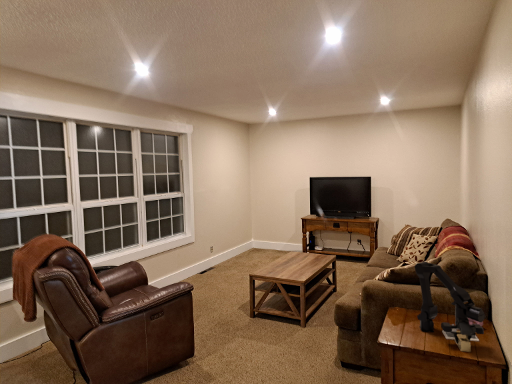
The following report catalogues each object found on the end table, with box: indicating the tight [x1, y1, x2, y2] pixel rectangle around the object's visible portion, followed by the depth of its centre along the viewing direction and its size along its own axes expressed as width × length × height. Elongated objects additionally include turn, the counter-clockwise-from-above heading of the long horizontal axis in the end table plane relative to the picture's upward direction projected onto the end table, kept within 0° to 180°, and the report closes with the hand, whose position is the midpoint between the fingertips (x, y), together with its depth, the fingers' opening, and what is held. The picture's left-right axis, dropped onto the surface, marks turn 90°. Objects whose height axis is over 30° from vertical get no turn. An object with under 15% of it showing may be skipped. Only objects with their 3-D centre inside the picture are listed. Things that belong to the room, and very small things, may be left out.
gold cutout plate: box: [453, 330, 472, 353], centre depth 183 cm, size 12×4×5 cm, turn 165°
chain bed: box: [441, 323, 480, 342], centre depth 192 cm, size 16×9×6 cm, turn 75°
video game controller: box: [468, 318, 484, 327], centre depth 202 cm, size 10×5×7 cm, turn 17°
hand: (462, 343), depth 183 cm, fingers closed on gold cutout plate, 4 cm apart
